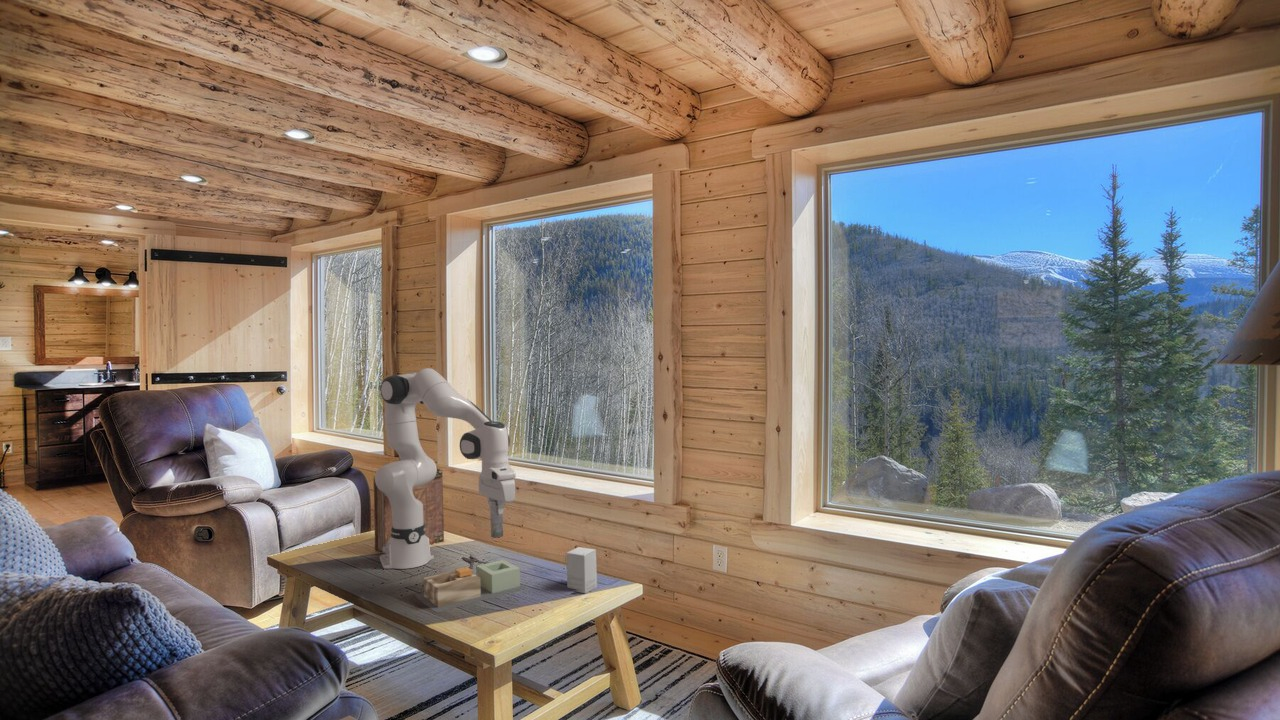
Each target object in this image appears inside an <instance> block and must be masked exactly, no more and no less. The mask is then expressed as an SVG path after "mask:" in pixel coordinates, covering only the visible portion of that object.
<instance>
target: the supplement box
mask: <svg viewBox="0 0 1280 720" xmlns="http://www.w3.org/2000/svg"><path fill="white" fill-rule="evenodd" d="M565 554H566V582H567V583H566V584H567V585H566V586H567V588H568V589H573V592H575V591H576V593H580V592H581V593H582V594H587V593H588V592H590V591H592V590H594V589H596V588H597V587H598V573H597V569H598V568H597V549H595V548H589V547H588V548H587V547H580V546H578V547H575V548H573V549H571V550H570V551H567V552H565Z"/></svg>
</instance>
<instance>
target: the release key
mask: <svg viewBox="0 0 1280 720" xmlns="http://www.w3.org/2000/svg"><path fill="white" fill-rule="evenodd" d="M454 571H455V574H456V575H458V576H459V577H465V576H468V575H472V573H473V569H470V567H468V566H465V567H460V568H456V569H454Z"/></svg>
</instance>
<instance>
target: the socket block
mask: <svg viewBox="0 0 1280 720" xmlns="http://www.w3.org/2000/svg"><path fill="white" fill-rule="evenodd" d="M423 593H424V597H425V598H427V599H428V600H429V601H430V602H432V603H433V604H434V605H436V606H437V607H442V606H446V605H450V604H453V603H457V602H461V601H465V600H469V599H473V598H477V597H480V596H481V584H480V577H478V576H477V575H476V574H474V573H473V572H472V575H468V576H465V577H459V576H458V575H456V574H455V570H451V571H448V572H447V571H446V572H443V573H439V574H434V575H430V576H426V577H423Z"/></svg>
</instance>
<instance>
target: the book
mask: <svg viewBox="0 0 1280 720" xmlns="http://www.w3.org/2000/svg"><path fill="white" fill-rule="evenodd" d="M412 491H413V495H414V497H415V498H416V499H418V500H419V501H421V502H422V504H423V521H424V524H425V536H427V537H428V538H429V546H431V545H434V543H435V544H437V543H442V542H444V541H445V535H444V533H445V531H444V492H443V491H444V486H443V470H442V469H438V468H437V473H436V476H435V478H434V479H433V480H431V481H430V482H428V483H426V484H424V485H421V486H417V487H414V488H412ZM373 513H374V514H373V516H374V519H373V520H374V551H375V550H378V551H380V552H382V553H383V551H382V547H386V543H387V542H388V540H389V539H390V538H391V528H392V526H393V524H392V509H391V504H390V501H389V499H388V497H387V496H386V494H385V493H383V492H382V491H380V490H379V489H378V487H377V486H376V483H375V475H374V476H373ZM430 544H431V545H430ZM384 554H386V553H384Z"/></svg>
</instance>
